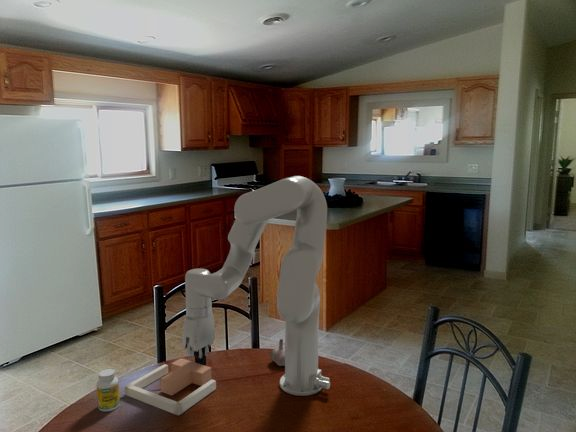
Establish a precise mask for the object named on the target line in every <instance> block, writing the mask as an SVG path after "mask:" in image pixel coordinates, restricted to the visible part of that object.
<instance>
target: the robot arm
mask: <svg viewBox="0 0 576 432" xmlns="http://www.w3.org/2000/svg"><path fill="white" fill-rule="evenodd" d="M233 211H234V215H235V220H234V222H233V225H232V226H231V229H230V231H229V232H228V236H227V240H228V242H229V244H230V249H229V253H228V255H227V257H226V260H225V261H224V263H223V266H222V268H221V269H219V270H218V271H216V272H213V273H211V272H210V271H209V270H208V269H206V268H193V269H190V270H187V271H186V273H185V275H184V276H185V277H184V281H185V282H184V286H185V288H184V289H185V311H186V312H185V317H184V318H183V319H184V320H183V325H182V339H181V340H182V348H183V349H184V350H186V352H185V354H186V356H187V357H194V362H195V363H198V364H201V365H205V366H207V355H208V352H209V349H210V347H211V346H212V345H213V343H214V342H215V340H216V339H215V338H216V329H215V328H216V327H215V325H216V324H215V320H214V319H215V317H214V313H213V309H212V308H213V307H212V305H213V302H212V301H213V300H224V299H225V298H227V297H228V296H230V295H231V294H232V293H233V292H234V291H235V290H237V289H238V288H239V286H241V284H242V282H243V280H244V279H245V277H246V274H247V272H248V270H249V268H250V266H251V264H252V261H253V259H254V254H255V250H256V247H257V245H258V244H259V241H260V238H261V237H262V235H263V233H264V230H265V228H266V226H267V225H268V223H269V220H272V219H274V218H277V217H279V216H282V215H285V214H288V213H290V212H294V211H296V219H295V224H294V233H293V239H292V245H291V247H290V249H289V250H288V251H287V252H286V253H285V255H284V256H283V258H282V260H281V264H280V265H281V266H280V271H279V277H278V278H279V280H278V287H277V295H276V308H277V312H278V314H279V316H280V317H281V318H282V319H283V320H284V348H285V366H284V374H283V375H282V376H281V377H280V379H279V388H280V389H282V391H283V392H285V393H287V394H290V395H293V396H302V397H303V396H305V397H306V396H311V395H314V394H317V393H319V392H320V391H322V389H323V388H324V389H327V390H329V389H330V387H331V381H330V379H331V378H330V377H327V376H323V375H322V369H319V325H320V323H319V319H320V318H319V317H320V307H321V306H320V304H321V293H320V288H319V286H318V284H317V276H318V272H319V271H320V269H321V267H322V265H323V261H324V260H323V258H324V247H325V239H326V230H327V222H328V220H327V219H328V203H327V200H326V197H325V195H324V192H323V191H322V189H321V188H320V187H319V186H318V184H317V183H315V182H314V181H313V180H311V179H310V178H307V177H306V176H305V177H304V176H301V175H293V176H290V177H285V178H281V179H280V180H277V181H275V182H272V183H270V184H267V185H265V186H262V187H260V188H258V189H255V190H252V191H249V192H246V193H243V194H241V195H240V196H239V197H238V198H237V199H236V201H235V203H234V209H233Z"/></svg>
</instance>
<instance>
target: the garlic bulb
mask: <svg viewBox="0 0 576 432" xmlns="http://www.w3.org/2000/svg"><path fill="white" fill-rule="evenodd" d="M278 346H279V347H275V348H274V349H272V350H271V352H270V359H271V360H272V362H274V363H276V365H277V366H279V367H283V366H284V367H285V347H284V339H283V338H280V339H279V344H278Z"/></svg>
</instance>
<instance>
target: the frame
mask: <svg viewBox="0 0 576 432" xmlns="http://www.w3.org/2000/svg"><path fill="white" fill-rule="evenodd" d="M169 373H170V372H169V364H167V363H166V364H165V363H164V364H162V365H161V366H159V367H157V368H155V369H153V370H152V371H149V372H148V373H146V374H144V375H142V376H141V377H139V378H137V379H135V380H134V381H131V382H130V383H128V384H126V385H124V395H125V396H127V397H130V398H132V399H135V400H138V401H140V402H143V403H145V404H148V405H151V406H153V407H155V408H158V409H161V410H163V411H165V412H168V413H171V414H174V415H176V416H179V417H180V415H182V414H183V413H184V412H186V411H188V409H190V408H191V407H193V406H195V405H196V404H197V403H198V402H200V401H201V400H203V399H204V398H205V397H207V396H208V395H210V394H211V393H213V392H214V391H215V390H217V380H215V379H211V380H210V381H208V382H207V383H206V384H204V385H203V386H200V387H198V388H197V389H195V390H194V391H192V392H191V393H189V394H188V395H186V396H185V397H184V398H183V397H182V399H181V400H178V401H176V400H173V399H171V398H167V397H165V396H163V395H159V394H157V393H154V392H152V391H149V390H148V389H147V390H146V389H144V388H145V387H147V386H149V385H151V384H152V383H154V382H155V381H158V380H159V379H161V378H162V377H164V376H166V375H168V374H169Z"/></svg>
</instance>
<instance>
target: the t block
mask: <svg viewBox="0 0 576 432" xmlns="http://www.w3.org/2000/svg"><path fill="white" fill-rule="evenodd" d="M211 379H212V367H210V366H207V365H206V366H205V365H201V364H198V363H195V361H191V360H188V359H185V358H182V357H181V358H179V359H177V360H175V361H174V362H171V371H170V372H169V373H168V374H166V375H164V376H162V377H161V378H160V388H161V390H160V391H161V393H165V394H166V395H169V396H172V397H173V396H174V395H175V394H177V393H178V392H180V391H181V390H183V389H184V388H186V387H188V386H190V385H191V384H195V385H197V386H200V387H201V386H203V385H204V384H206V383H207V382H208V381H210V380H211Z"/></svg>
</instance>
